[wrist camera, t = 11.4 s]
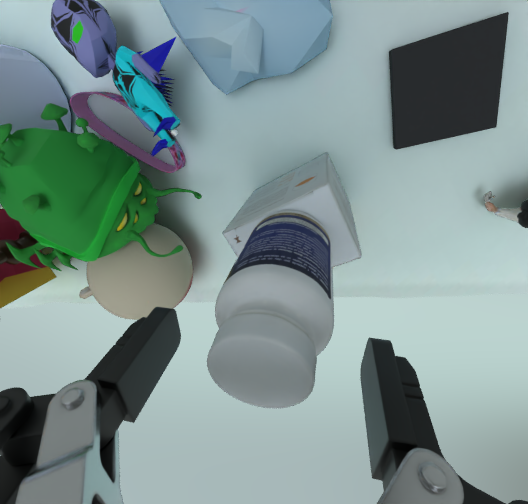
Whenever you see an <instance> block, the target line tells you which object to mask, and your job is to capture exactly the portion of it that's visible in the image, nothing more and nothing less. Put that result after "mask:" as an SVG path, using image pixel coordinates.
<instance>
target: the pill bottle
mask: <svg viewBox="0 0 528 504" xmlns="http://www.w3.org/2000/svg"><path fill="white" fill-rule="evenodd" d="M215 316H216V321H217V324H218V327H219V330H218V332H217V334H216V337H215V339H214V342H213V344H212V346H211V349H210V351H209V354H208V358H207V367H208V370H209V373H210V375H211V377H212V379H213V380H214V381H215V383H216V384H217V385H218V386H219V387H220V388H221V389H222V390H224V391H225V392H226V393H228V394H229V395H231V396H233V397H234V398H236V399H238V400H240V401H242V402H245V403H248V404H250V405H254V406H258V407H264V408H286V407H290V406H294V405H296V404H299V403H301V402H302V401H304V400H305V399H306V398H307V397H308V396H309V395H310V393H311V392H312V390H313V387H314V382H315V370H316V369H315V368H316V361H317V357H316V356H317V355H319V354H320V353H321V352H322V351H323V350H324V349H325V348H326V346H327V344H328V343H329V341H330V339H331V336H332V332H333V327H334V303H333V269H332V243H331V240H330V237H329V235H328V233H327V231H326V229H325V228H324V227H323V226H322V224H321V223H320V222H319V221H317V220H316V219H315V218H313V217H312V216H310V215H308V214H305V213H302V212H299V211H291V210H287V211H279V212H276V213H273V214H270V215H269V216H267V217H265V218H264V219H262V220H261V221H260V222H259V223H258V224H257V225H256V227H255V228H254V230H253V231H252V233H251V235H250V237H249V238H248V240H247V242H246V244H245V246H244V248H243V250H242V251H241V253H240V255H239V257H238V259H237V260H236V262H235V264H234V266H233V267H232V269H231V271H230V273H229V275H228V277H227V279H226V281H225V282H224V284H223V286H222V288H221V290H220V292H219V295H218V297H217V301H216V307H215Z"/></svg>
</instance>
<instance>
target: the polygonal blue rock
mask: <svg viewBox="0 0 528 504" xmlns="http://www.w3.org/2000/svg"><path fill="white" fill-rule="evenodd" d="M160 2H161V4H162V6H163V8H164V10H165V12H166V14H167V16H168V18H169V20H170V22H171V24H172V26H173V28H174V30H175V31H176V33H177V34H178V35H179V37H180V38H181V40H182V41H183V42H184V44H185V45H186V47H187V48H188V50H189V51H190V52H191V54H192V55H193V57H194V58H195V59H196V61H197V62H198V64H199V65H200V66H201V68H202V69H203V71H204V72H205V74H206V75H207V76H208V78H209V79H210V81H211V82H212V83H213V84H214V85H215V86H216V87H218V88H219V89H220V90H221V91H223V92H224V93H225V94H226V95H227V94H229V93H231V92H232V91H234V90H236V89H238V88H240V87H242V86H244V85H246V84H247V83H249V82H251V81H253V80H256V79H262V78H267V77H272V76H278V75H283V74H289V73H292V72H294V71H295V70H297V69H298V68H300V67H301V66H303V65H304V64H305V63H307V62H308V61H310V60H311V59H313V58H314V57H316V56H317V55H319V54H320V53H321V52H323V51H324V50H326V49H327V43H328V38H329V33H330V28H331V22H332V17H333V14H332V9H331V4H330V0H160Z"/></svg>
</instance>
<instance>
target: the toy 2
mask: <svg viewBox="0 0 528 504" xmlns="http://www.w3.org/2000/svg"><path fill="white" fill-rule="evenodd" d="M139 234H140V235H141V236H142V237H143V238H144V240H145V241H146V243H147V245H148V247H149V248H150V249H151V250H152V251H153V252H155V253H157V254H161V255H164V254H168V253H170V252H171V251H172V250H174V249H175V248H176V247H177V246H178V245H181V246H183V250H182V251H180V252H178V253H175V254H173V255H170V256H167V257H156V256H152V255H150V254H149V253H148V252H146V251H145V249H144V248H143V247H142V245H141V244H140V243H139V242H137V241H130V242H129V243H128V244H126V245H125V246H124V247H122V248H121V249H119V250H117V251H116V252H114V253H112V254H109V255H107V256H104V257H101V258H97V260H95V261H89V262H88V263H87V280H88V284H89V287H86V288H85V289H83V290H81V291H80V295H79V296H80V298H83V299H85V298H87V297H89V296H91V295H93V296H94V297H95V299H96V300H97V301H98V303H99V304H100V305H101V306H102V307H103V308H104V309H106V310H107V311H108V312H110V313H112V314H114V315H116V316H118V317H122V318H125V319H134V320H139V319H140V318H142V317H146V318H147V316H148V315H149V314H150V313H151V311H152V310H153V309H154V308H155V307H164V308H171V309H173V308H174V307H176V306H177V305H178V304H179V303H180V302H181V301H182V300H183V299H184V298H185V296H186V295H187V293H188V291H189V289H190V287H191V284H192V279H193V264H192V259H191V256H190V254H189V251H188V249H187V247H186V246H185V244H184V243H183V241H182V240H181V239H180V238H179V237H178V236H177V235H176V234H175V233H174V232H172V231H171V230H169V229H168V228H166V227H164V226H161V225H158V224H154V223H153V224H151V225H149V226H147V227H146V229H145V231H143V232H141V233H139Z"/></svg>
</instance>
